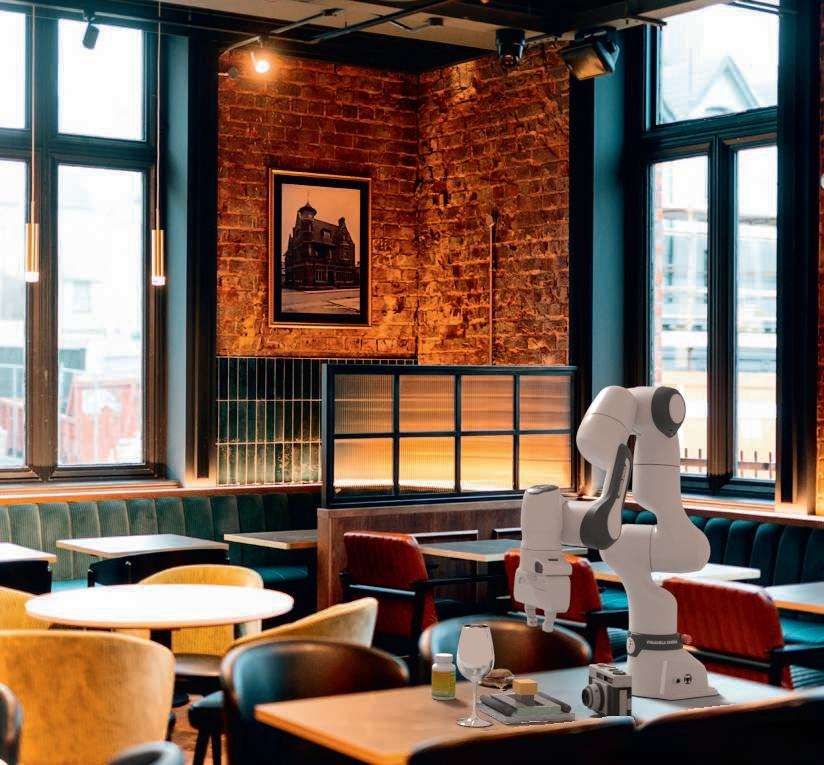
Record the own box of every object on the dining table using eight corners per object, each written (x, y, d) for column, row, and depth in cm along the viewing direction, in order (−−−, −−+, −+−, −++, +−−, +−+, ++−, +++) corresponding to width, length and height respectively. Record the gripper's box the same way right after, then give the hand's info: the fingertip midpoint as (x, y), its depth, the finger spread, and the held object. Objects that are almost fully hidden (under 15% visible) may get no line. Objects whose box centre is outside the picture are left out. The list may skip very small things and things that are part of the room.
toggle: (529, 703, 285) (529, 679, 286) (537, 707, 282) (537, 682, 282) (512, 704, 284) (512, 679, 284) (520, 708, 280) (520, 683, 280)
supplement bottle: (453, 701, 295) (453, 657, 295) (429, 699, 296) (430, 656, 296) (457, 696, 300) (457, 653, 300) (433, 695, 301) (434, 652, 301)
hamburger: (458, 688, 312) (458, 662, 312) (493, 680, 323) (493, 655, 323) (506, 696, 303) (506, 670, 303) (540, 687, 314) (541, 662, 314)
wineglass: (453, 718, 277) (455, 623, 277) (490, 718, 277) (492, 623, 278) (457, 727, 269) (459, 628, 270) (495, 727, 270) (497, 629, 270)
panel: (542, 704, 293) (542, 690, 293) (575, 720, 278) (575, 705, 278) (475, 708, 288) (476, 694, 288) (505, 724, 273) (505, 709, 273)
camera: (571, 708, 290) (572, 662, 290) (605, 706, 292) (606, 661, 293) (597, 722, 277) (598, 674, 277) (633, 720, 279) (634, 673, 279)
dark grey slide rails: (541, 698, 293) (541, 690, 293) (572, 712, 278) (572, 705, 278) (478, 701, 288) (478, 694, 288) (507, 716, 273) (507, 709, 273)
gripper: (507, 557, 286) (506, 621, 286) (548, 567, 267) (546, 636, 266) (533, 557, 288) (532, 621, 288) (576, 567, 269) (575, 635, 268)
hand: (539, 628), depth 277 cm, fingers open, 6 cm apart
